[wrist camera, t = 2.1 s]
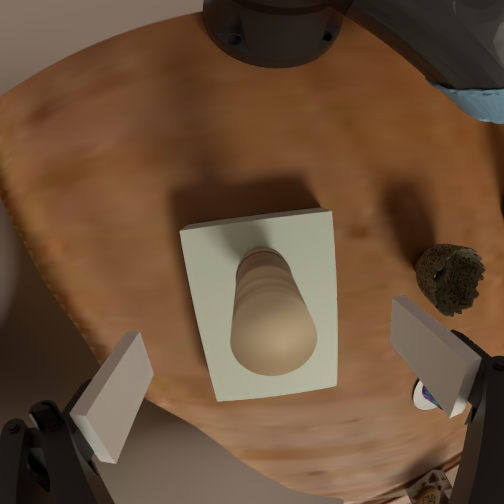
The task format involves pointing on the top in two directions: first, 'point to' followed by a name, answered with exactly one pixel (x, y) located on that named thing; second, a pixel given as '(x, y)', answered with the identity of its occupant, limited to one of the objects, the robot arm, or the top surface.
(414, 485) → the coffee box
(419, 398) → the pudding
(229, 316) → the board
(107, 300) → the top surface
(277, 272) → the peg
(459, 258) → the cup
